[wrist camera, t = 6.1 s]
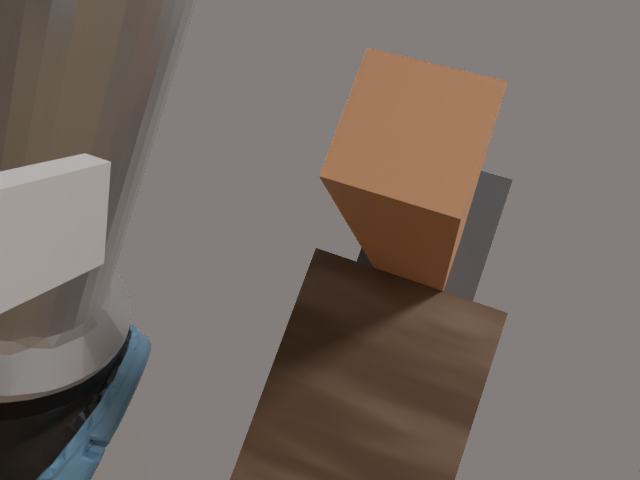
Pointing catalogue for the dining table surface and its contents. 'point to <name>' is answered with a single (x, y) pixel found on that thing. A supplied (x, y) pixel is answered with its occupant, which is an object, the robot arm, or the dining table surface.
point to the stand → (370, 380)
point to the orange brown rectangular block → (418, 170)
